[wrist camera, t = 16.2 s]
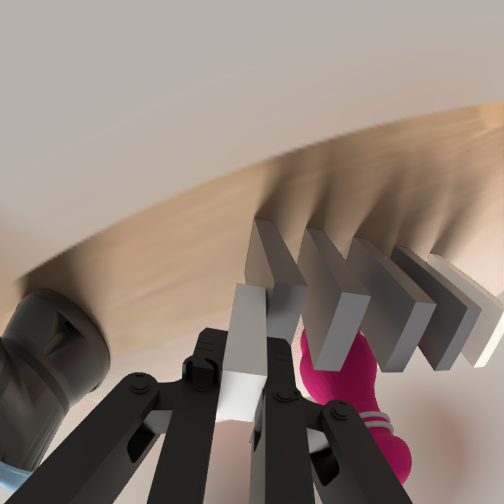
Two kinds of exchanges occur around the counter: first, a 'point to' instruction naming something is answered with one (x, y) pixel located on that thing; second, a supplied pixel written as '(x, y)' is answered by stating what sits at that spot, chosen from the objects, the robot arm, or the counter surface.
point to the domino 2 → (329, 301)
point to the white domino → (489, 321)
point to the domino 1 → (275, 279)
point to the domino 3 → (389, 306)
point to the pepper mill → (357, 397)
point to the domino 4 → (439, 310)
